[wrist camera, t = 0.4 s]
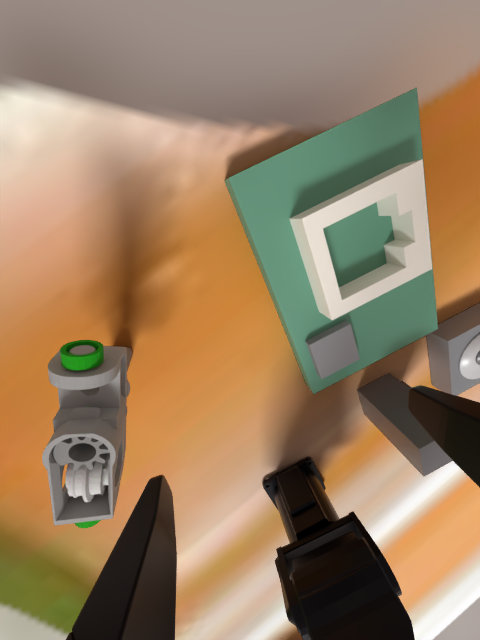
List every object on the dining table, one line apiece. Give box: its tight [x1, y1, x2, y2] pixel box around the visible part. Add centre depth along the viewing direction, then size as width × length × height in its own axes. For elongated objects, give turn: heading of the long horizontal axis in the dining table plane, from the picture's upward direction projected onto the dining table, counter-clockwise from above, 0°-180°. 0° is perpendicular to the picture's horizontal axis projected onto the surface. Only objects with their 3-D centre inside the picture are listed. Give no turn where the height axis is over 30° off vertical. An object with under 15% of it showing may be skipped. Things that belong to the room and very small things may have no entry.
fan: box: [426, 303, 480, 396], centre depth 28 cm, size 8×8×3 cm
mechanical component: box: [42, 340, 132, 528], centre depth 16 cm, size 3×10×10 cm, turn 171°
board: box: [225, 88, 438, 394], centre depth 21 cm, size 20×14×4 cm
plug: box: [357, 373, 453, 476], centre depth 26 cm, size 4×5×8 cm
